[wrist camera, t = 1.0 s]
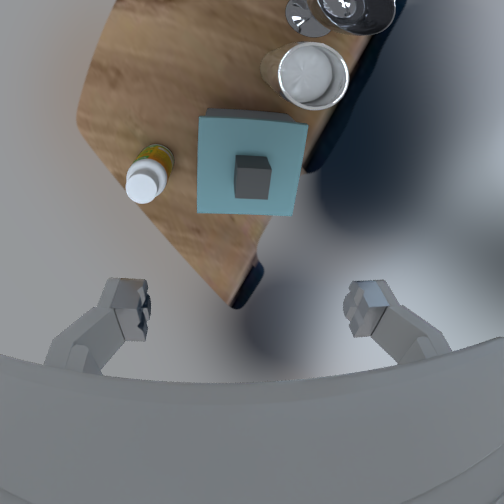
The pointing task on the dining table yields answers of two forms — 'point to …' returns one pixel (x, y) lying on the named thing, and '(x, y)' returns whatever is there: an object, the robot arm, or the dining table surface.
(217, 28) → the dining table surface
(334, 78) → the beer glass
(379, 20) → the wine glass
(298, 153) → the lid
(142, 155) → the supplement bottle
